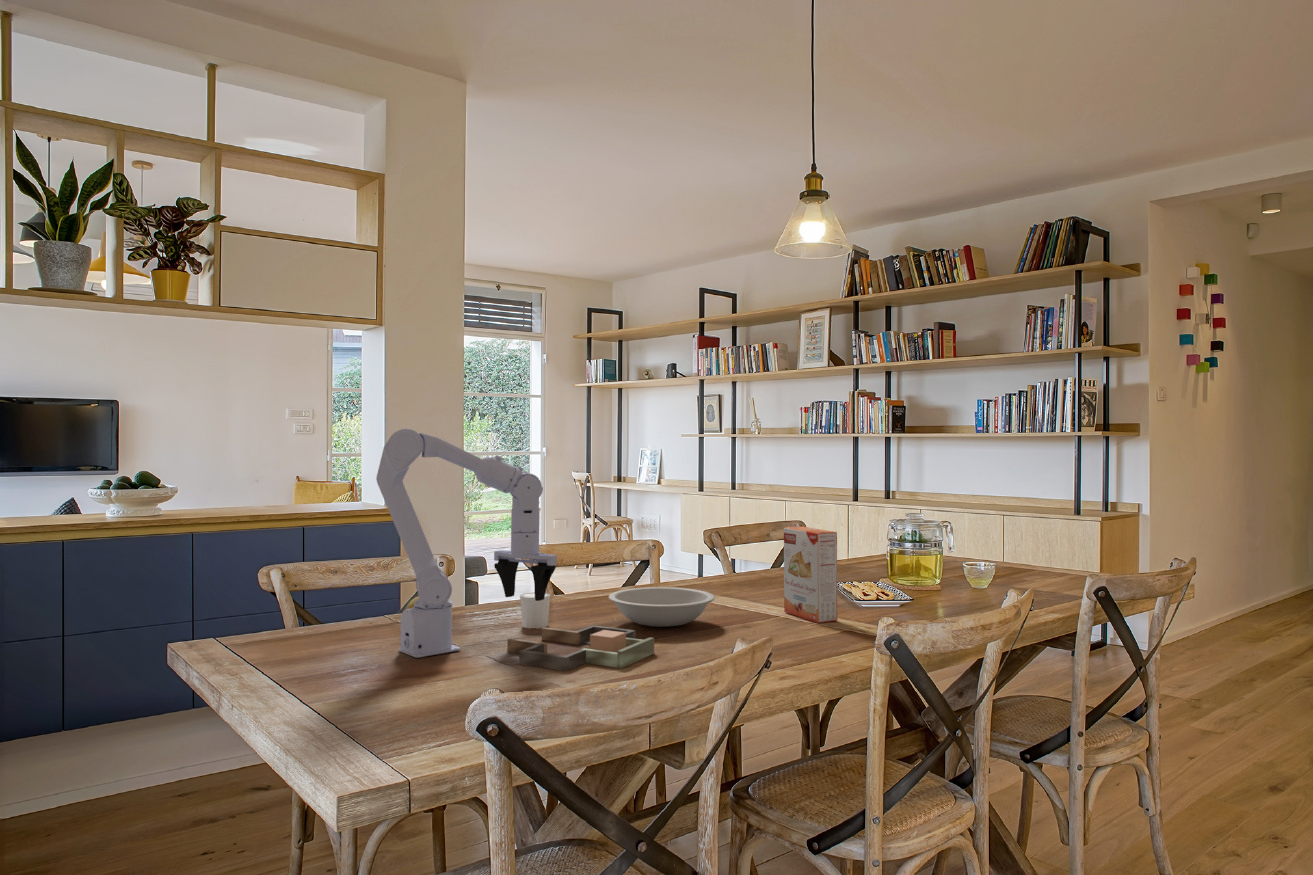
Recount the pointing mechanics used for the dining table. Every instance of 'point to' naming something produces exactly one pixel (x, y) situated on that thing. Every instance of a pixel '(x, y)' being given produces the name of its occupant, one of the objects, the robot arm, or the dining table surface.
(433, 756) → the dining table surface
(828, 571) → the cracker box
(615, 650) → the block
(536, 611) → the white cup
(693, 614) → the soup bowl
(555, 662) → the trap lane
